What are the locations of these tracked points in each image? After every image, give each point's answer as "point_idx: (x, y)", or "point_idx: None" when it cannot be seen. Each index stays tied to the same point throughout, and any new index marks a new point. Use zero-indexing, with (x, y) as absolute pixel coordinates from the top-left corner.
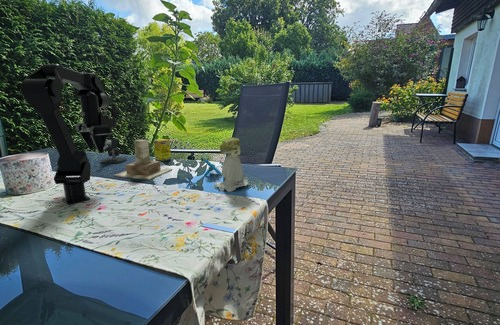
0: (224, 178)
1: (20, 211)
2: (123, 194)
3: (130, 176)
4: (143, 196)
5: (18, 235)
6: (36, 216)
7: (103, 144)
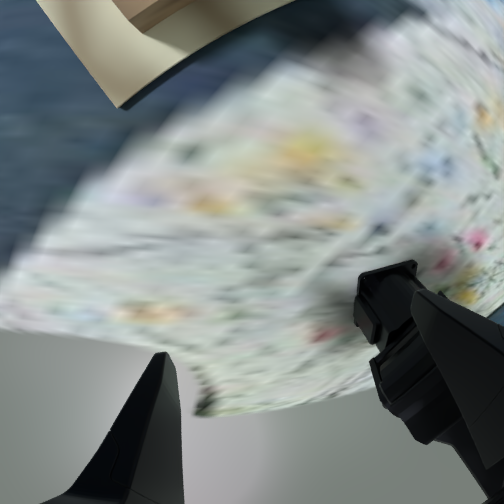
0: None
1: (352, 379)
2: (449, 160)
3: (229, 27)
4: (494, 123)
5: None
6: None
7: (491, 326)
